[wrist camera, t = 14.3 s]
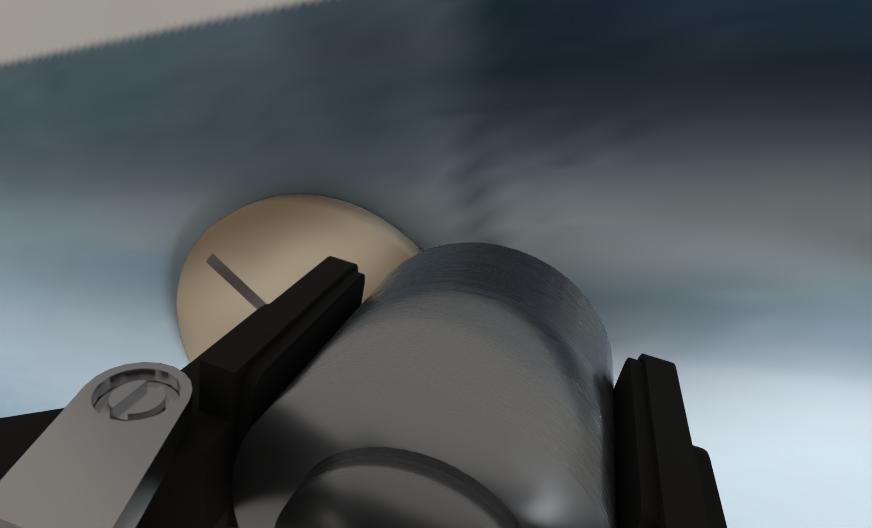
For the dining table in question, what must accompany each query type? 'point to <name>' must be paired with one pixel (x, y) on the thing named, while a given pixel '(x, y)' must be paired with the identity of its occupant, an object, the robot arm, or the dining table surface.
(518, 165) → the dining table surface
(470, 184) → the dining table surface
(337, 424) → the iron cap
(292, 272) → the turntable
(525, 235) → the dining table surface
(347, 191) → the dining table surface
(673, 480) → the robot arm
